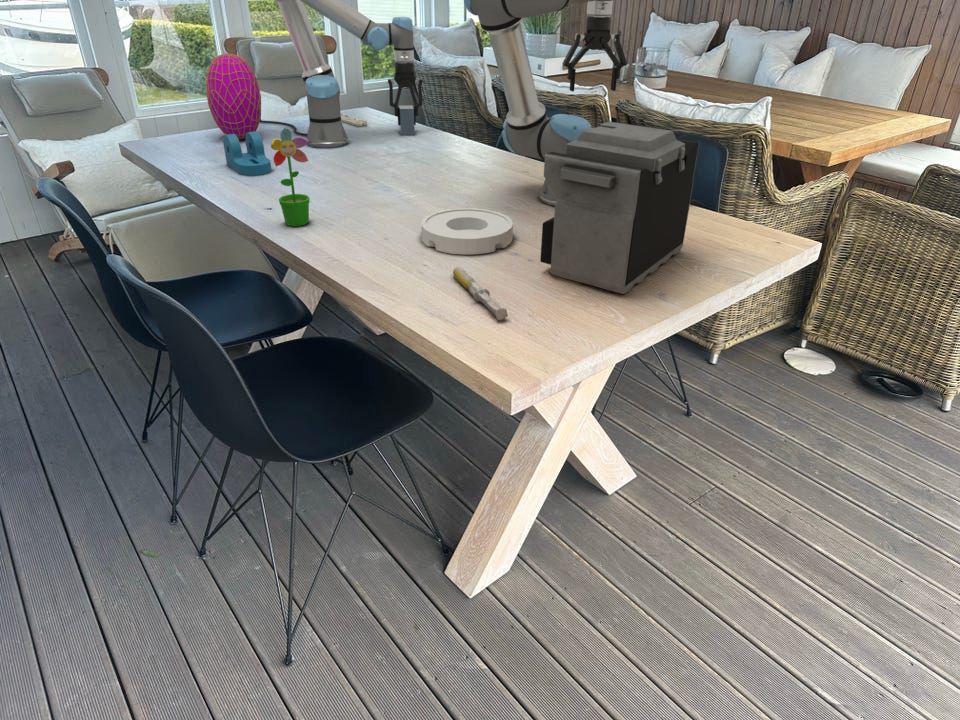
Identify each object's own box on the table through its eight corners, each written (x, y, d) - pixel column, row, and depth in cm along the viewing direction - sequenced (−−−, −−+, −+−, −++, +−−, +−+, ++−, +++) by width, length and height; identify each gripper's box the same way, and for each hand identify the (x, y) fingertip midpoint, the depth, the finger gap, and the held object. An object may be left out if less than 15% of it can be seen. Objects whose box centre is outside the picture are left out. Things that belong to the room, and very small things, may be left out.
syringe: (449, 274, 155) (449, 263, 153) (465, 272, 156) (464, 260, 154) (490, 323, 135) (491, 310, 133) (508, 319, 136) (508, 307, 134)
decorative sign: (319, 115, 301) (339, 112, 307) (320, 117, 301) (339, 114, 307) (352, 125, 284) (372, 122, 290) (352, 127, 284) (372, 124, 290)
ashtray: (426, 221, 185) (425, 207, 183) (512, 223, 185) (512, 208, 183) (416, 253, 165) (416, 237, 163) (512, 255, 165) (513, 239, 163)
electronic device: (606, 230, 180) (619, 111, 165) (687, 249, 169) (709, 123, 154) (532, 275, 155) (539, 139, 140) (621, 301, 144) (640, 156, 128)
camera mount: (227, 164, 233) (221, 132, 227) (257, 160, 238) (252, 129, 233) (244, 176, 220) (239, 143, 215) (276, 172, 225) (271, 139, 220)
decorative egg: (252, 130, 278) (239, 49, 262) (275, 139, 265) (264, 54, 250) (206, 137, 266) (190, 53, 251) (228, 146, 254) (213, 59, 239)
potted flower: (284, 229, 179) (270, 130, 166) (277, 220, 185) (263, 124, 172) (319, 224, 183) (308, 127, 170) (311, 215, 188) (300, 121, 176)
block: (400, 131, 279) (398, 105, 274) (413, 131, 280) (412, 105, 275) (400, 135, 274) (399, 108, 269) (414, 135, 274) (413, 108, 269)
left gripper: (380, 63, 259) (384, 127, 271) (429, 63, 261) (430, 126, 273) (379, 60, 265) (383, 123, 277) (427, 60, 268) (429, 122, 280)
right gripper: (562, 17, 203) (557, 93, 214) (642, 17, 206) (634, 91, 217) (555, 15, 209) (551, 89, 220) (634, 15, 213) (626, 87, 223)
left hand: (406, 124), depth 275 cm, fingers closed on block, 5 cm apart
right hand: (592, 90), depth 218 cm, fingers open, 13 cm apart
